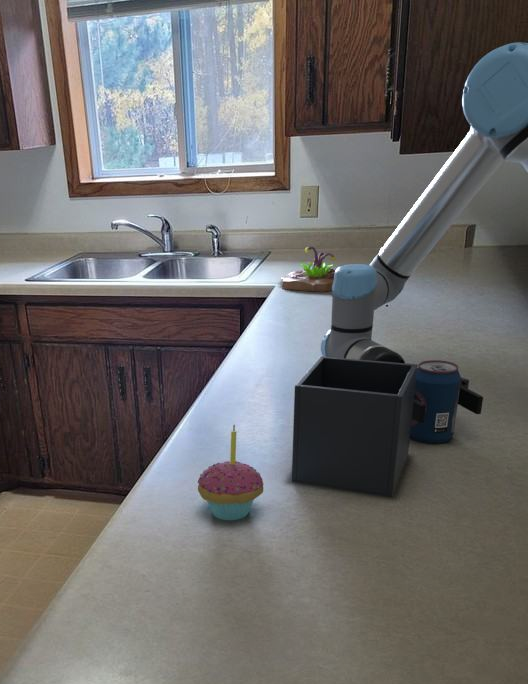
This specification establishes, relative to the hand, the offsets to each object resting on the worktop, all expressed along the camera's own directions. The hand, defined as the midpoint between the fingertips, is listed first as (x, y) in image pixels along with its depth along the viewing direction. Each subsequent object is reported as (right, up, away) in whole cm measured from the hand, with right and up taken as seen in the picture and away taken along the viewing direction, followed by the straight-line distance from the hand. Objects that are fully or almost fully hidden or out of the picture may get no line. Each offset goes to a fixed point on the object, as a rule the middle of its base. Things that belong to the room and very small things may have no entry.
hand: (451, 409), depth 110 cm
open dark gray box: (-16, -9, -3) cm, 18 cm away
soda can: (-1, -4, +7) cm, 8 cm away
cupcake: (-34, -15, -12) cm, 39 cm away
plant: (+2, +48, +113) cm, 123 cm away
